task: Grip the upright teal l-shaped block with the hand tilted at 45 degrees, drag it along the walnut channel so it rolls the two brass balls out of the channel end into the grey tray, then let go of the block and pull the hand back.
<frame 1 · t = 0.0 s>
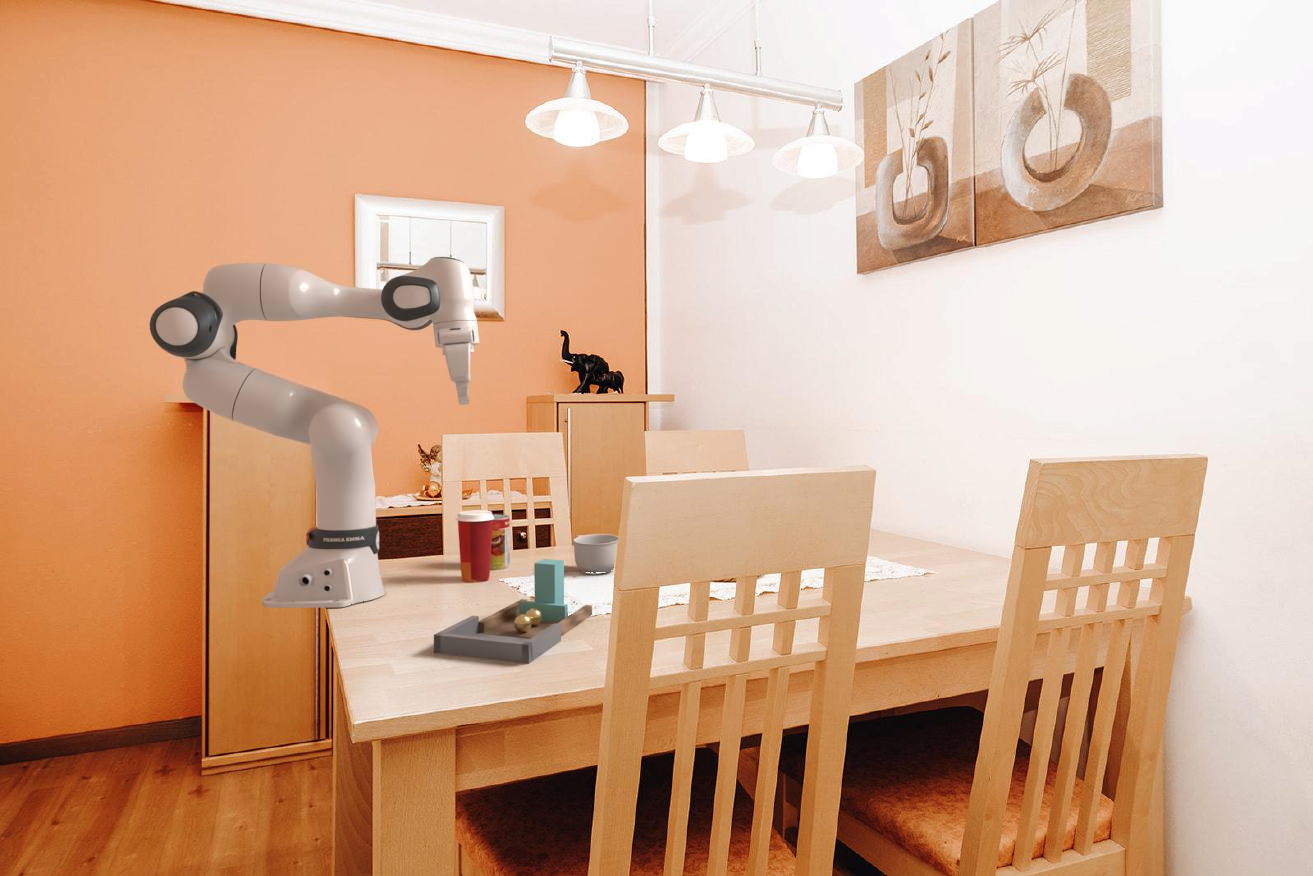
hand: (464, 404, 159), 39 cm above the table, tool pointing down, fingers open, 8 cm apart
canned food: (493, 567, 185), on the table
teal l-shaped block: (549, 616, 141), resting on channel
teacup: (593, 571, 181), on the table
tray: (499, 647, 124), on the table
channel: (537, 624, 137), on the table
coffee cup: (475, 580, 171), on the table
ball b: (522, 632, 131), resting on channel
ball a: (533, 625, 135), resting on channel
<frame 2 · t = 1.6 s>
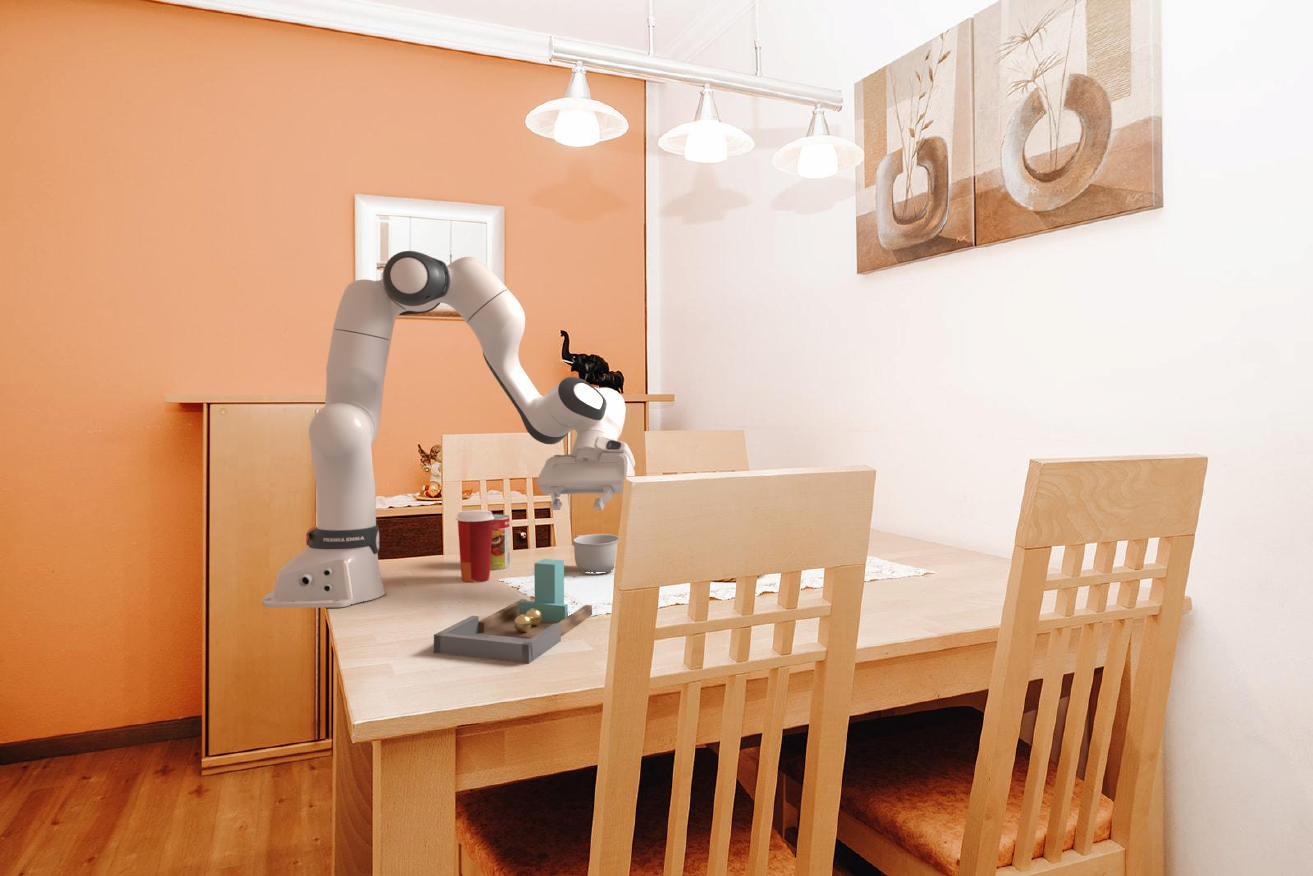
hand: (576, 508, 153), 18 cm above the table, tool tilted 45°, fingers open, 8 cm apart
nothing on the table moved.
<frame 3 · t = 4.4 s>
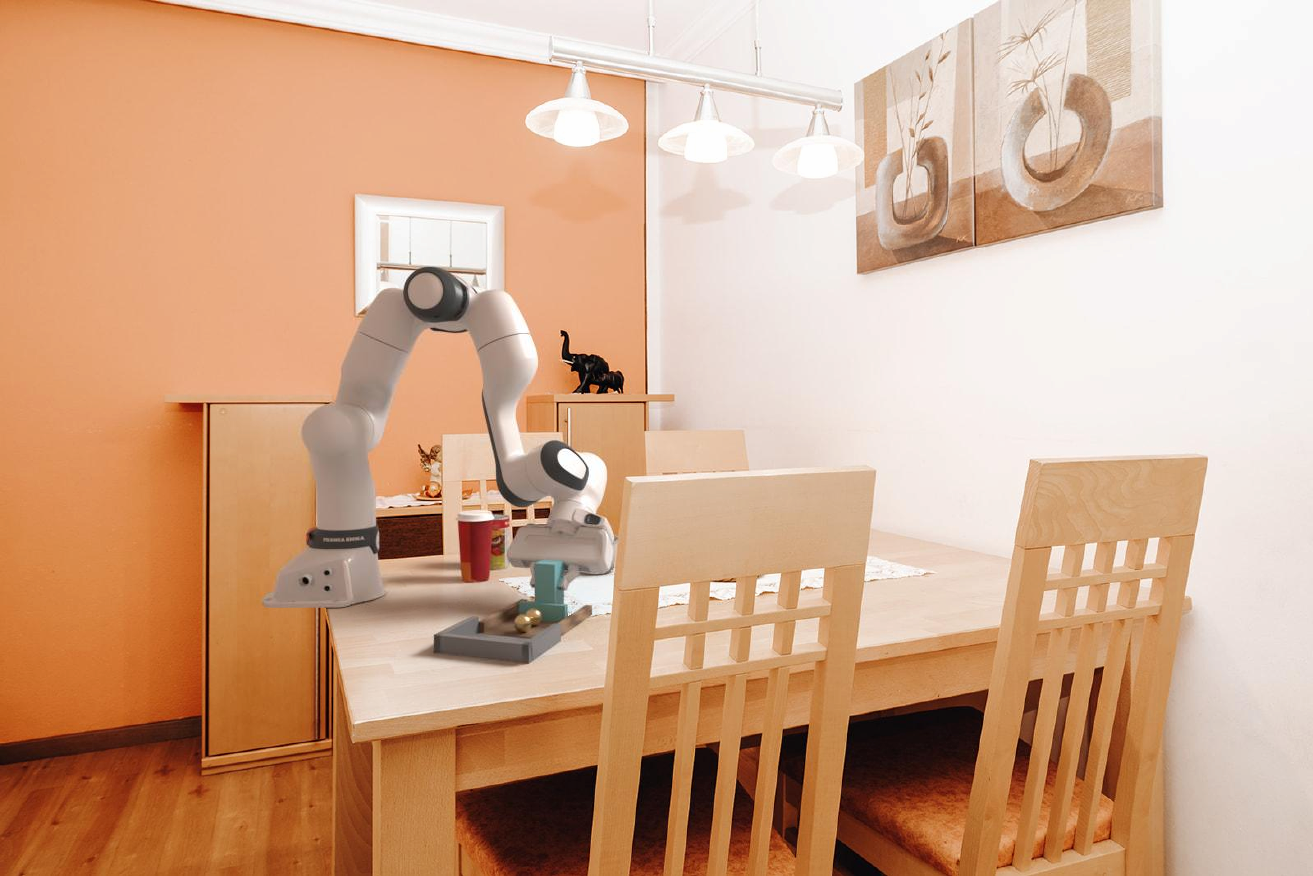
hand: (547, 587, 141), 6 cm above the table, tool tilted 45°, fingers closed on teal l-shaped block, 4 cm apart
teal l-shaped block: (549, 615, 141), resting on channel, touching gripper
everything else where it was.
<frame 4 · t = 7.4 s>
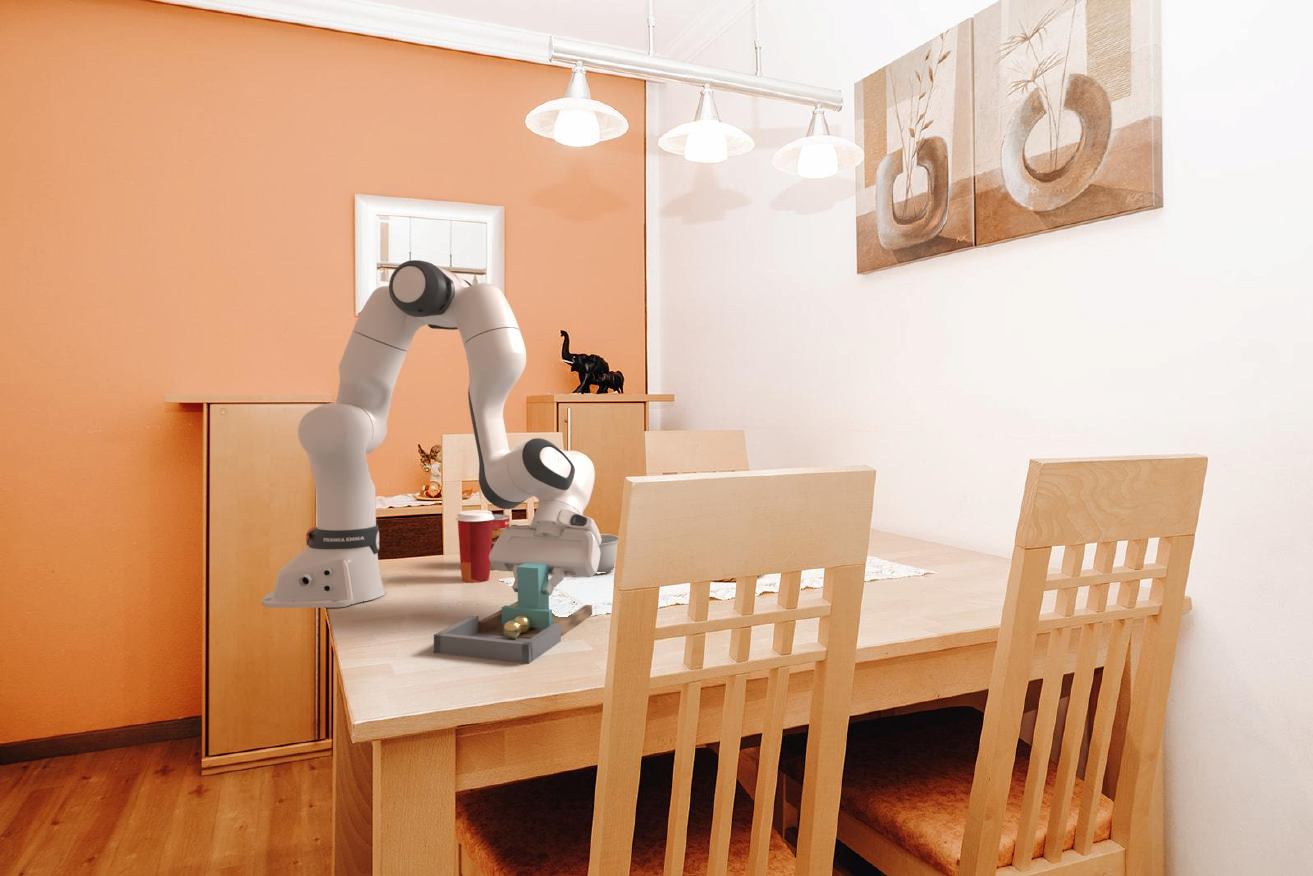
hand: (531, 592, 134), 6 cm above the table, tool tilted 45°, fingers closed on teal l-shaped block, 4 cm apart
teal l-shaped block: (533, 621, 135), point 1 cm above the table, touching gripper
ball b: (514, 620, 128), point 3 cm above the table, tilted 148°, touching tray
ball a: (522, 615, 131), point 3 cm above the table, tilted 169°, touching channel
everything else where it was.
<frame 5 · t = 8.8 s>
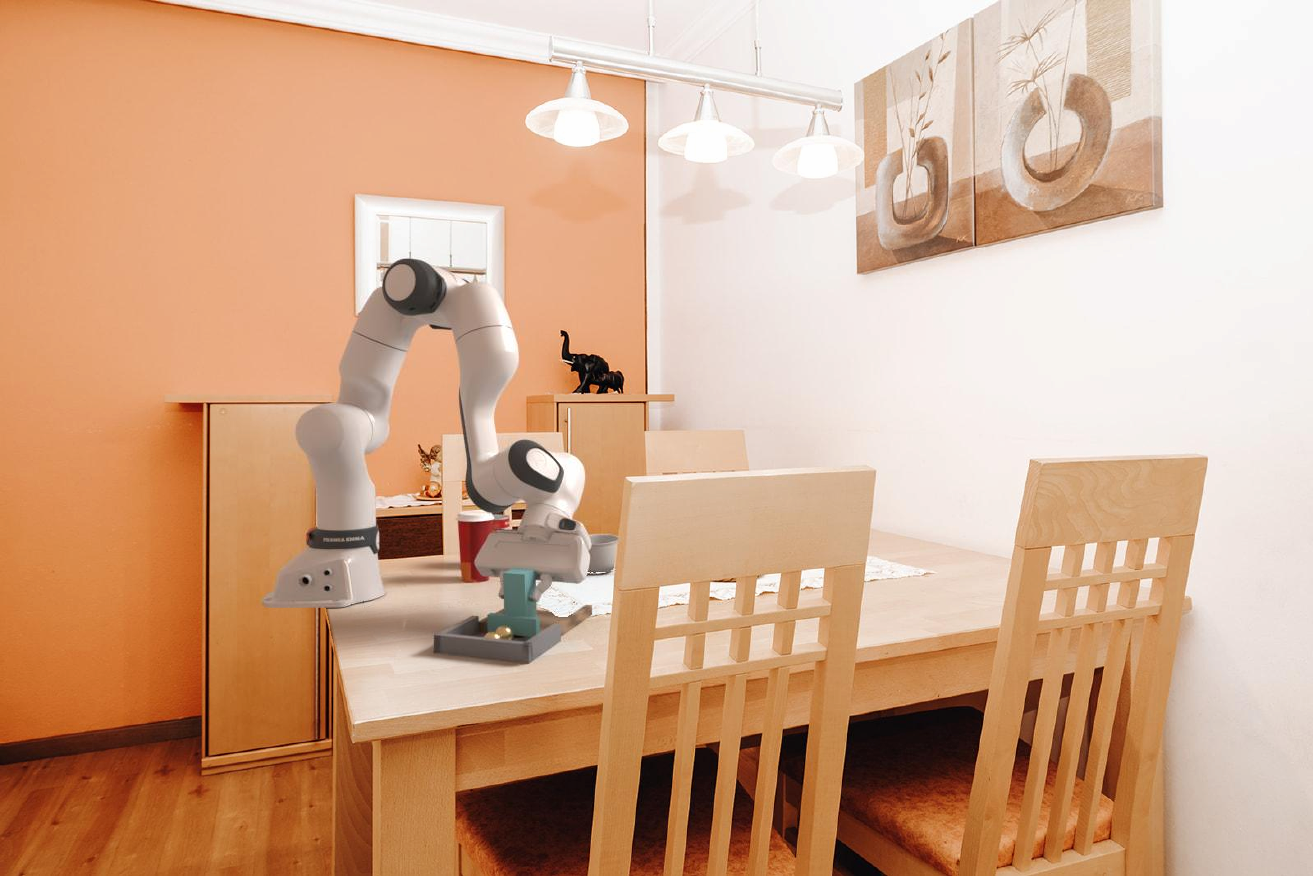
hand: (518, 598, 130), 6 cm above the table, tool tilted 45°, fingers closed on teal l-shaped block, 4 cm apart
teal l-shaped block: (520, 628, 131), point 1 cm above the table, touching gripper
ball b: (495, 646, 122), point 1 cm above the table, tilted 43°, touching tray
ball a: (507, 639, 126), point 1 cm above the table, tilted 47°, touching tray
everything else where it was.
when the fingers open (7 cm above the table, at t = 10.7 s): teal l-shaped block stays where it is, resting on channel, tray.
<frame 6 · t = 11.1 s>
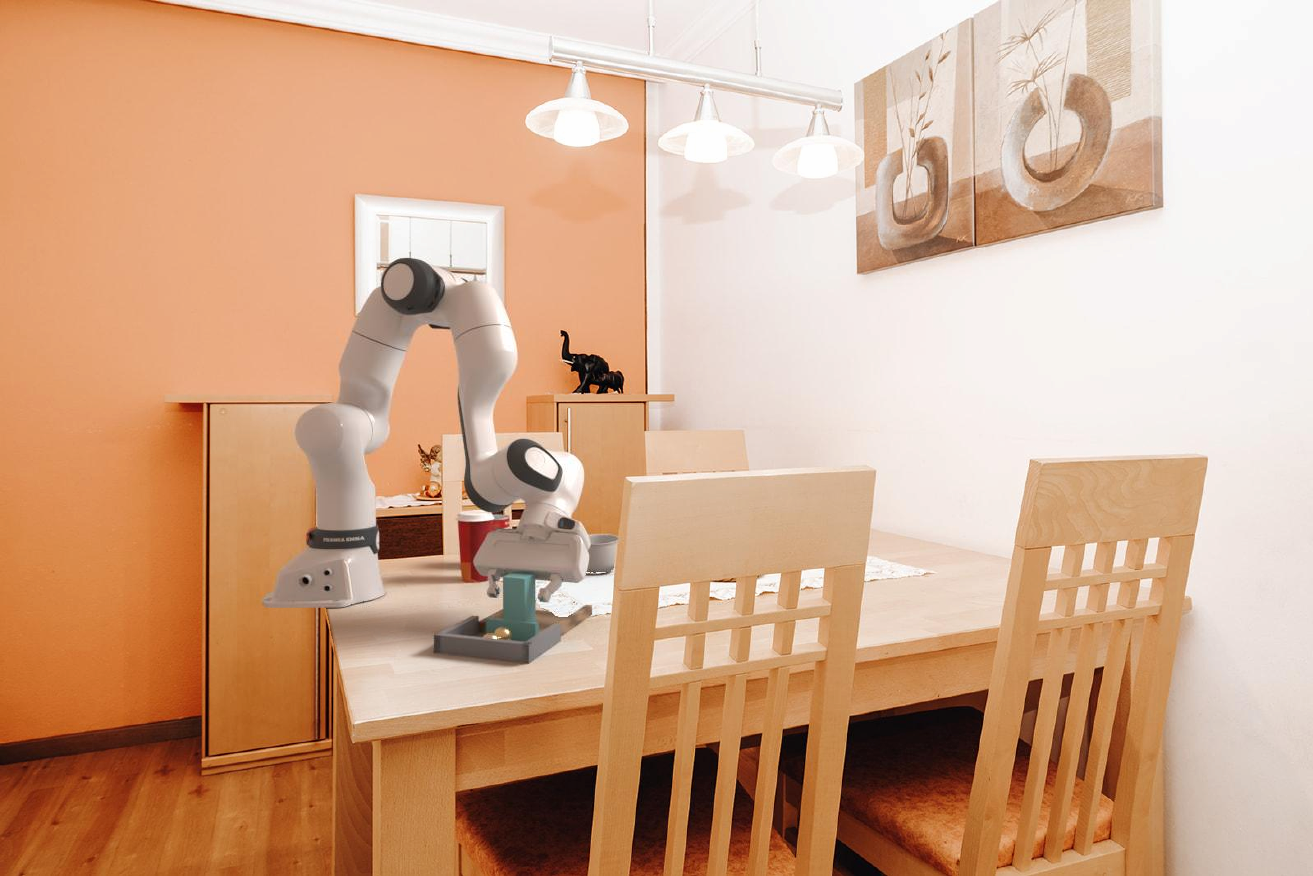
hand: (516, 598, 129), 7 cm above the table, tool tilted 45°, fingers open, 8 cm apart
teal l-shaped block: (519, 634, 130), resting on channel, tray
ball b: (494, 643, 122), point 1 cm above the table, tilted 69°, touching tray
ball a: (506, 636, 125), point 1 cm above the table, tilted 75°, touching tray
everything else where it was.
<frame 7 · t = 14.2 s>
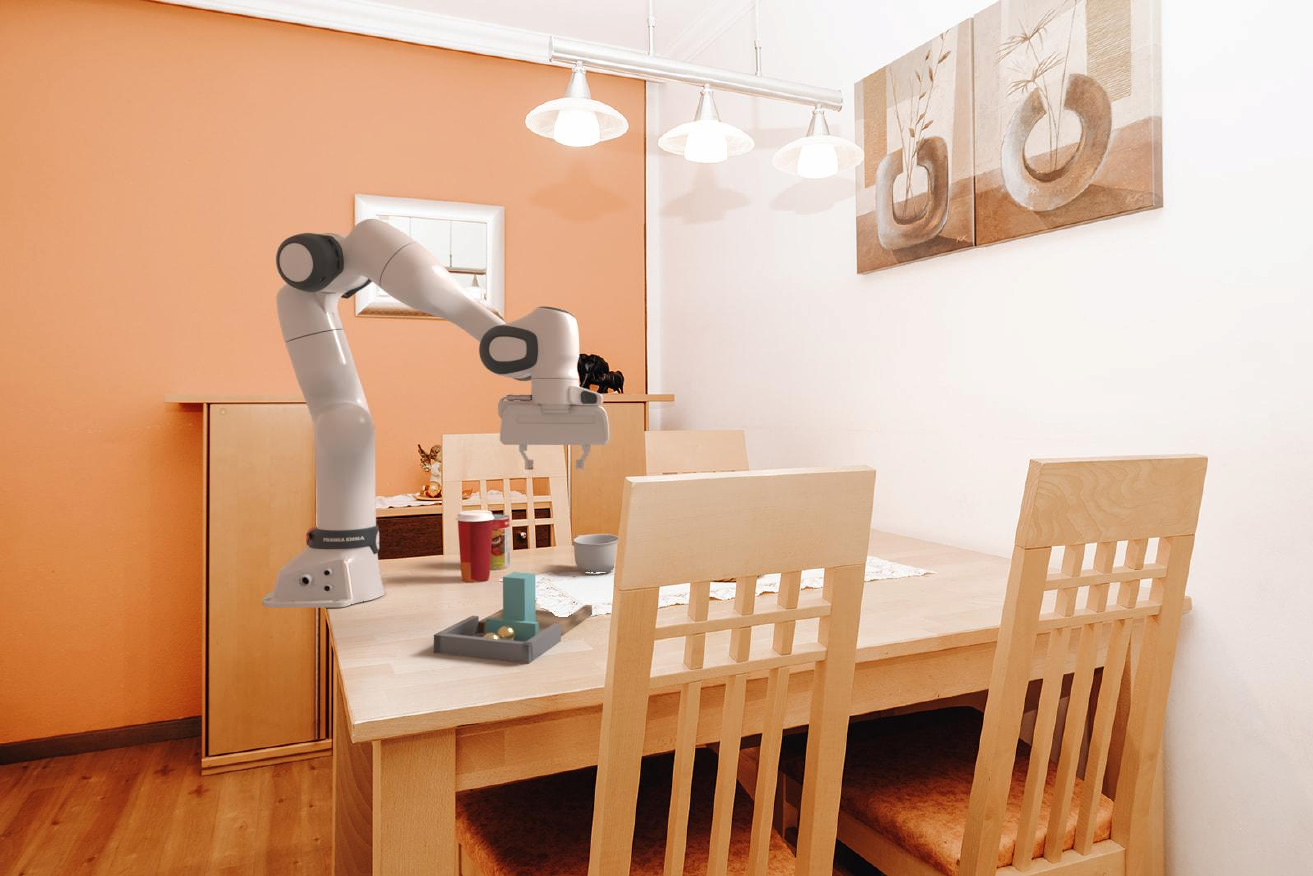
hand: (554, 469, 144), 27 cm above the table, tool pointing down, fingers open, 8 cm apart
ball b: (494, 644, 122), point 1 cm above the table, tilted 62°, touching tray
ball a: (508, 639, 126), point 1 cm above the table, tilted 47°, touching tray
everything else where it was.
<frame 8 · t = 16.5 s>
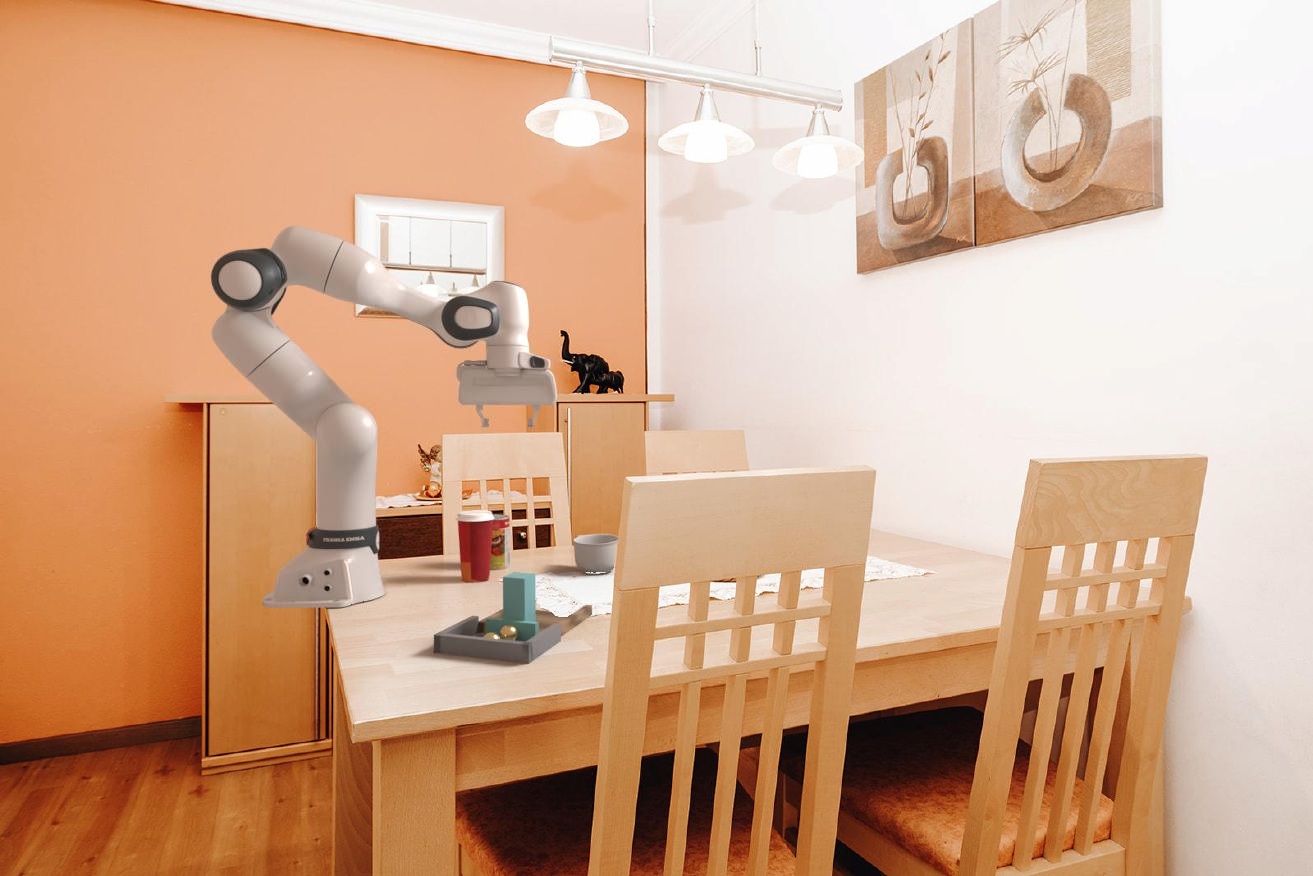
hand: (508, 427, 162), 34 cm above the table, tool pointing down, fingers open, 8 cm apart
ball b: (495, 645, 122), point 1 cm above the table, tilted 56°, touching tray
ball a: (509, 641, 126), resting on tray, tilted 28°
everything else where it was.
at the end: ball a 2.6 cm from the tray (horizontally); ball b 1.4 cm from the tray (horizontally); the gripper is holding nothing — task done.
